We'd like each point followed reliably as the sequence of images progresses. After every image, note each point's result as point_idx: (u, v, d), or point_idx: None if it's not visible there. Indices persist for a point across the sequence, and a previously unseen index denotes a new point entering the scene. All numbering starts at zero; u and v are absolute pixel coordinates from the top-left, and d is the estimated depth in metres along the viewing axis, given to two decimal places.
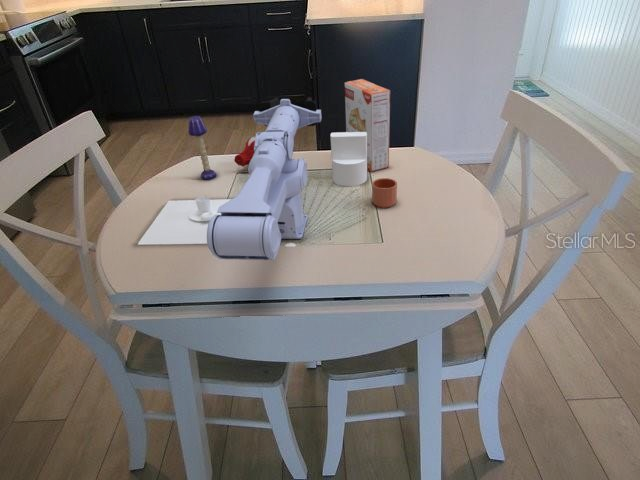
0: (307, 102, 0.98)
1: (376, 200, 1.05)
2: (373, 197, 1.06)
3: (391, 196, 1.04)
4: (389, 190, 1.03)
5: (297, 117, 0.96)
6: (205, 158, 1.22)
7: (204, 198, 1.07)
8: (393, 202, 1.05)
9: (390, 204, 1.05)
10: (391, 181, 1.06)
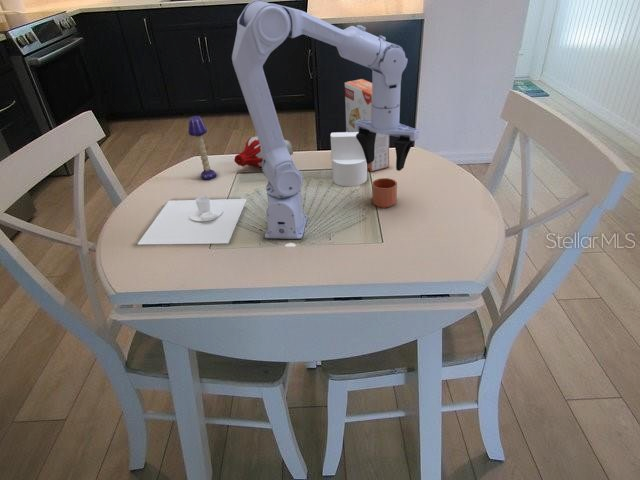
0: None
1: (376, 200, 1.05)
2: (373, 197, 1.06)
3: (391, 196, 1.04)
4: (389, 190, 1.03)
5: None
6: (205, 158, 1.22)
7: (204, 198, 1.07)
8: (393, 202, 1.05)
9: (390, 204, 1.05)
10: (391, 181, 1.06)
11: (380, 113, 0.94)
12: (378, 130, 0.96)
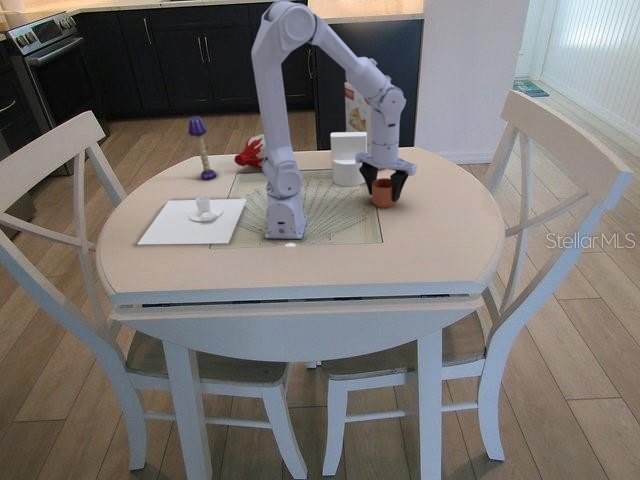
0: None
1: (376, 200, 1.05)
2: (373, 197, 1.06)
3: (391, 196, 1.04)
4: (389, 190, 1.03)
5: None
6: (205, 158, 1.22)
7: (204, 198, 1.07)
8: (393, 202, 1.05)
9: (390, 204, 1.05)
10: None
11: (380, 149, 0.98)
12: (378, 165, 1.00)
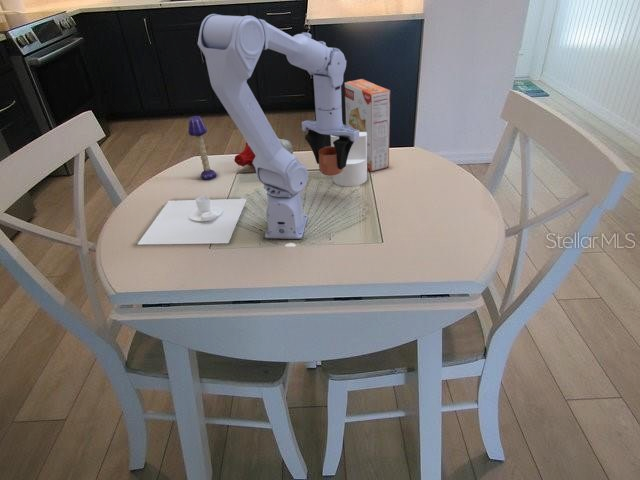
0: None
1: (322, 168, 1.05)
2: (319, 165, 1.06)
3: None
4: (334, 157, 1.03)
5: (341, 119, 1.00)
6: (205, 158, 1.22)
7: (204, 198, 1.07)
8: (339, 170, 1.05)
9: (336, 172, 1.05)
10: None
11: (322, 114, 0.98)
12: (321, 131, 1.00)
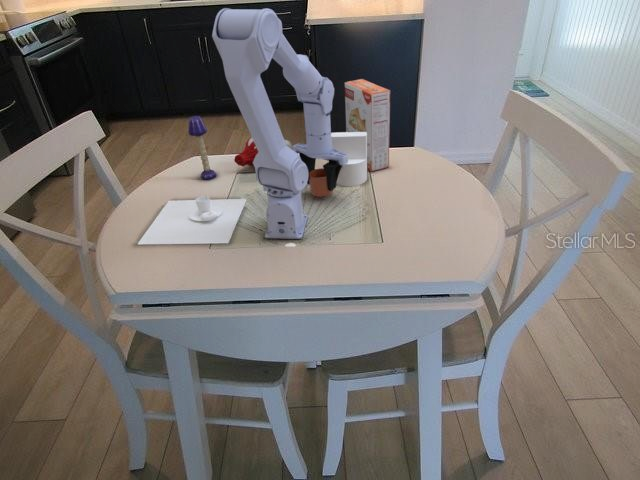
0: None
1: (313, 189, 1.09)
2: (310, 186, 1.10)
3: None
4: (324, 180, 1.07)
5: (330, 143, 1.04)
6: (205, 158, 1.22)
7: (204, 198, 1.07)
8: (329, 191, 1.09)
9: (326, 193, 1.09)
10: None
11: (312, 140, 1.02)
12: (311, 155, 1.04)
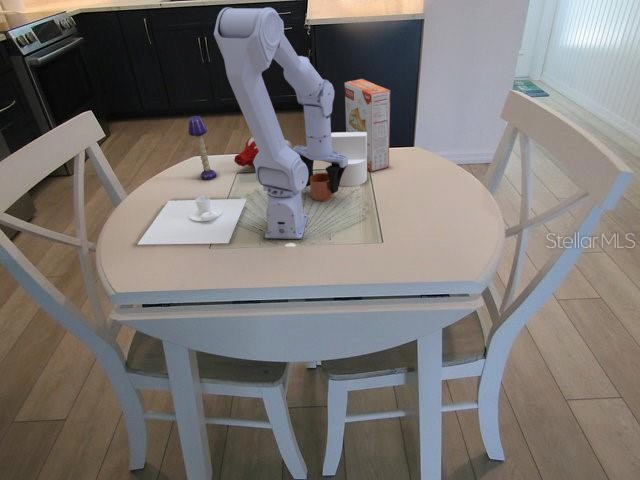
0: None
1: (313, 194, 1.09)
2: (311, 191, 1.10)
3: (327, 190, 1.09)
4: (324, 184, 1.07)
5: (330, 146, 1.04)
6: (205, 158, 1.22)
7: (204, 198, 1.07)
8: (329, 195, 1.10)
9: (327, 197, 1.10)
10: None
11: (312, 142, 1.02)
12: (311, 157, 1.04)
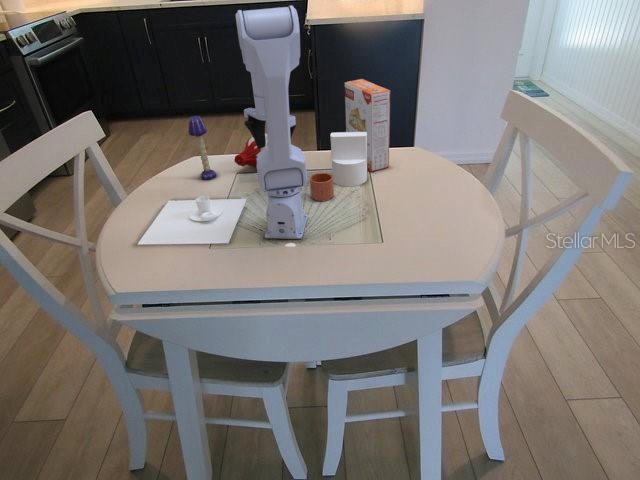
0: None
1: (313, 194, 1.09)
2: (311, 191, 1.10)
3: (327, 190, 1.09)
4: (324, 184, 1.07)
5: None
6: (205, 158, 1.22)
7: (204, 198, 1.07)
8: (329, 195, 1.10)
9: (327, 197, 1.10)
10: (328, 175, 1.11)
11: (259, 101, 1.02)
12: (260, 117, 1.04)
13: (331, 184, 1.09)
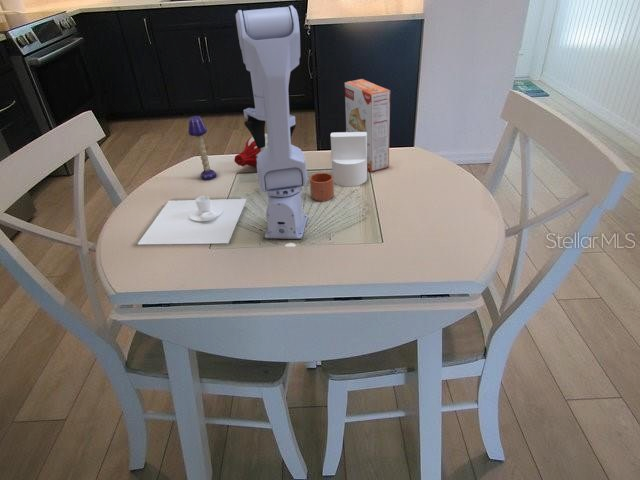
0: None
1: (313, 194, 1.09)
2: (311, 191, 1.10)
3: (327, 190, 1.09)
4: (324, 184, 1.07)
5: None
6: (205, 158, 1.22)
7: (204, 198, 1.07)
8: (329, 195, 1.10)
9: (327, 197, 1.10)
10: (328, 175, 1.11)
11: (259, 101, 1.02)
12: (259, 117, 1.04)
13: (331, 184, 1.09)
